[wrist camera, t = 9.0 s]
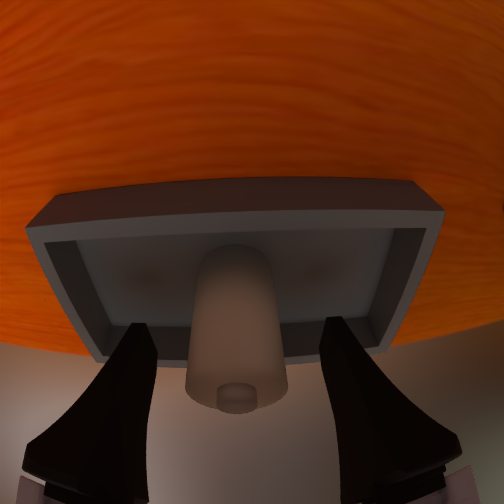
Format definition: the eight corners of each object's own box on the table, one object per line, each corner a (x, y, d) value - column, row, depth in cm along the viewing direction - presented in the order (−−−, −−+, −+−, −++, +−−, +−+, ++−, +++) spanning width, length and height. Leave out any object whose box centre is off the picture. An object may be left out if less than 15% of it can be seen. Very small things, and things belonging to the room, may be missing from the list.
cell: (272, 243, 14) (295, 379, 8) (270, 298, 16) (285, 421, 10) (194, 245, 14) (173, 382, 8) (203, 300, 16) (193, 423, 10)
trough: (413, 181, 13) (445, 211, 10) (372, 316, 18) (386, 352, 16) (55, 195, 12) (24, 228, 10) (108, 326, 18) (96, 362, 15)
